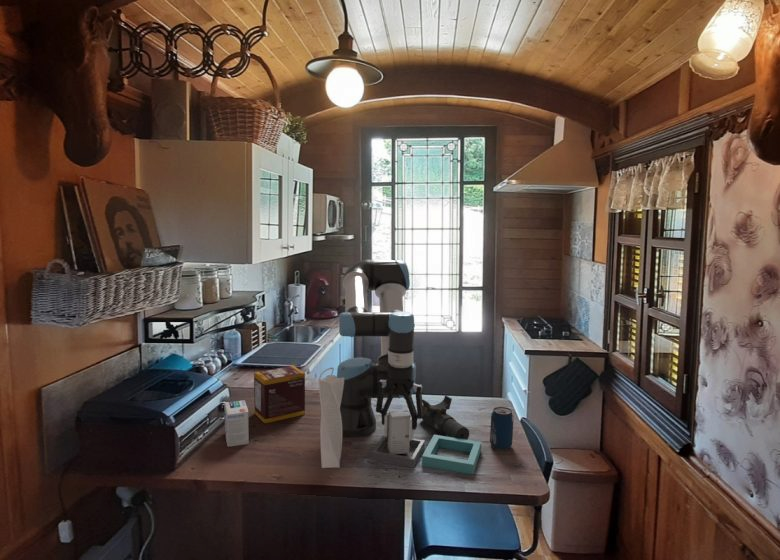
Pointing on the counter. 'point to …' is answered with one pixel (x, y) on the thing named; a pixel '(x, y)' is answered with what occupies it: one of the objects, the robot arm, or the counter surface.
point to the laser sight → (443, 419)
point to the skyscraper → (330, 419)
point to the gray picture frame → (398, 459)
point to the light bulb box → (236, 423)
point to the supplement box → (279, 393)
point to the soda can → (501, 428)
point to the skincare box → (398, 432)
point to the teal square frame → (448, 462)
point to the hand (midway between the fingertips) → (398, 436)
